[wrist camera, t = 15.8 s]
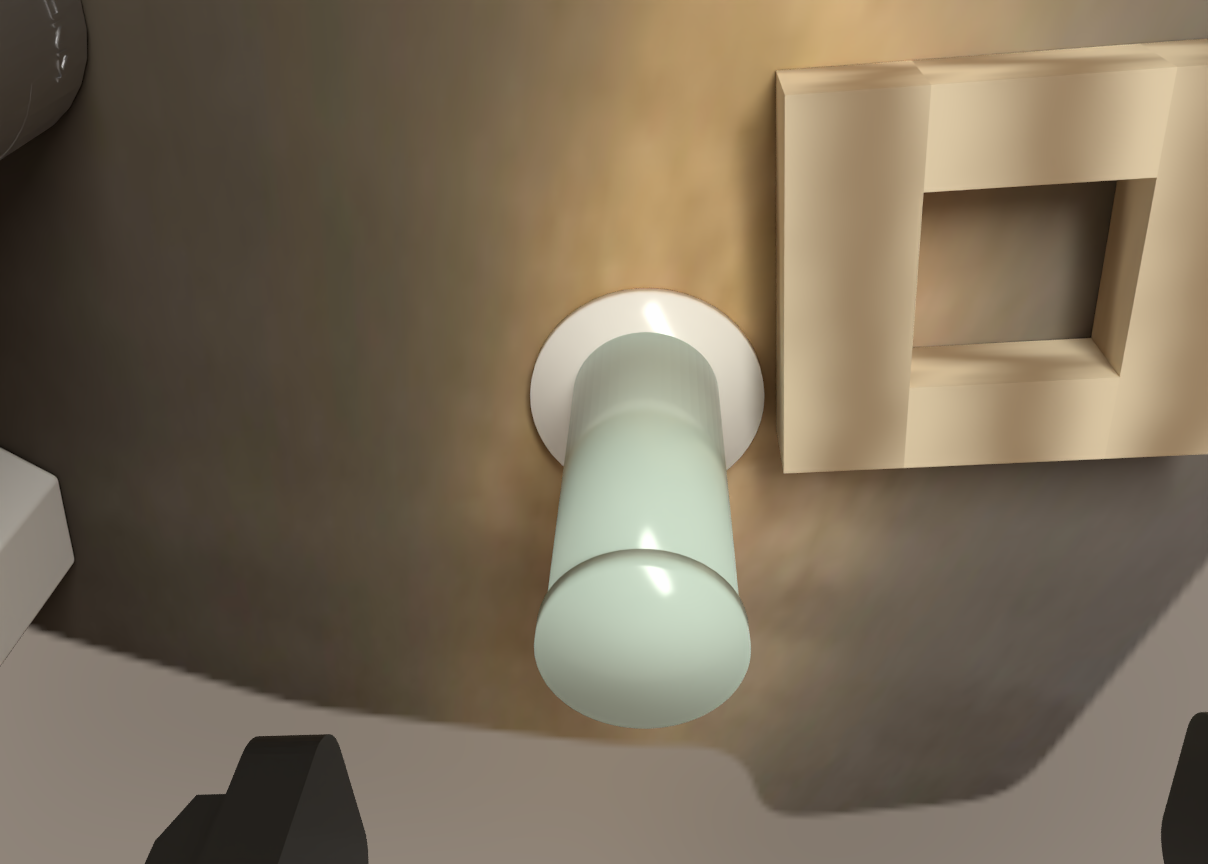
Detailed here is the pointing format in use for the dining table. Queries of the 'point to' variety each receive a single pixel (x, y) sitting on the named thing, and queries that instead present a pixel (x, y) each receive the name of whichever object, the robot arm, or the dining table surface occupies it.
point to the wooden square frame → (978, 161)
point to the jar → (28, 545)
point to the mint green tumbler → (643, 543)
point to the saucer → (657, 315)
